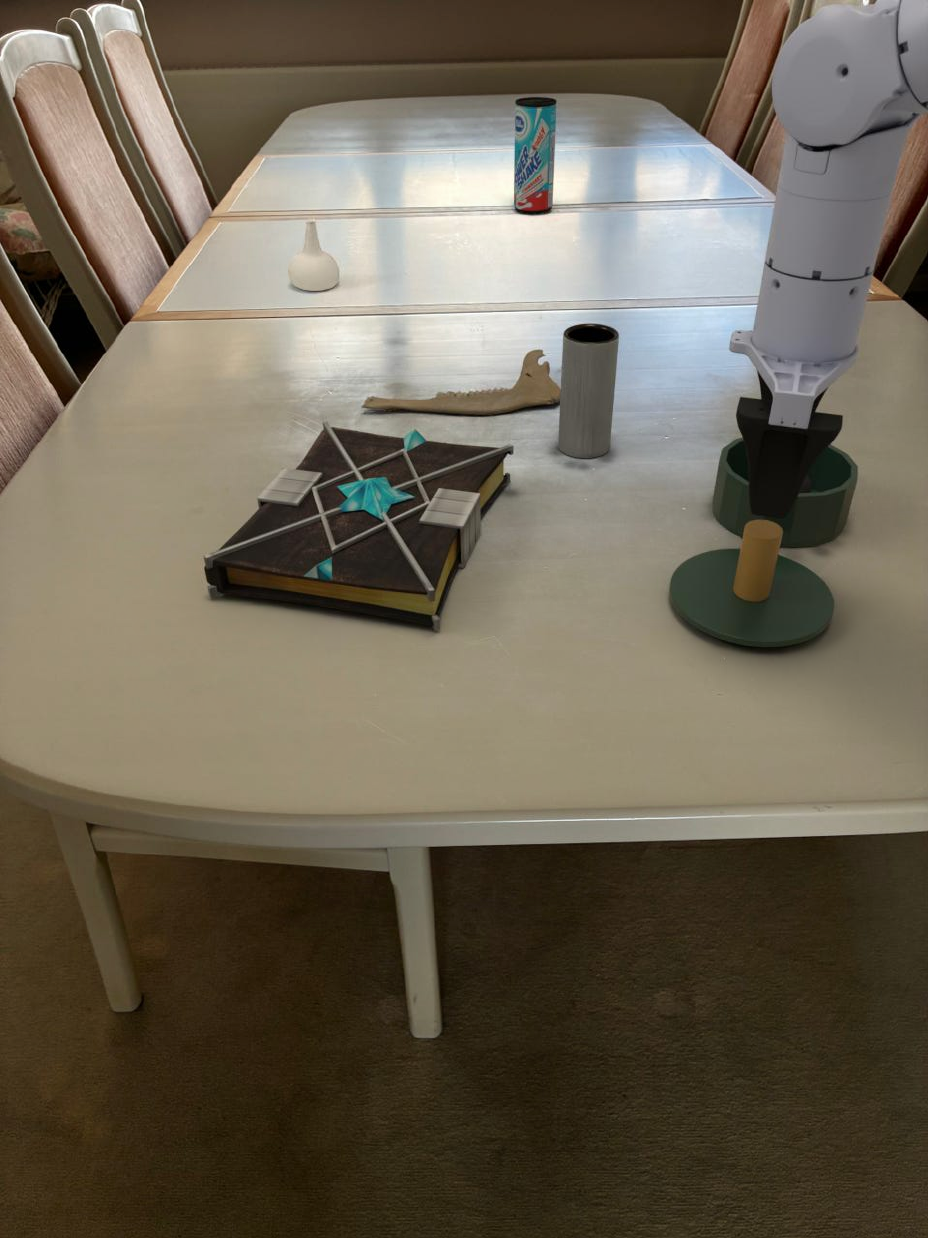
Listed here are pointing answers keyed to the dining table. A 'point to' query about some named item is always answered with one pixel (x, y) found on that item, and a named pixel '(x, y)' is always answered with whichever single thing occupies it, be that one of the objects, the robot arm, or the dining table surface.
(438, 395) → the jawbone
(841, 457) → the tin
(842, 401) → the dining table surface
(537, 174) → the beverage can
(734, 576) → the lid
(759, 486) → the robot arm
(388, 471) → the book
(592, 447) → the planter
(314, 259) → the garlic bulb
